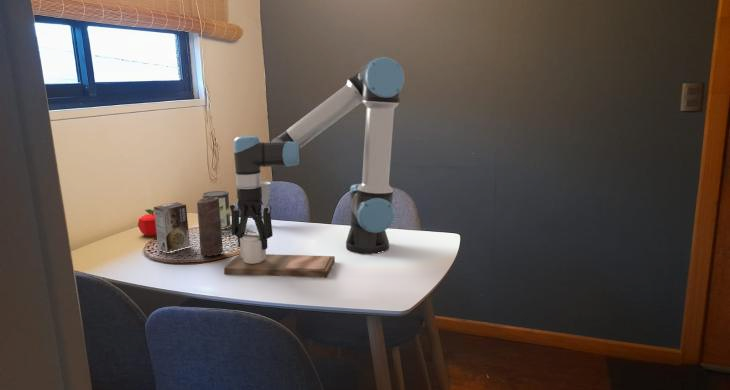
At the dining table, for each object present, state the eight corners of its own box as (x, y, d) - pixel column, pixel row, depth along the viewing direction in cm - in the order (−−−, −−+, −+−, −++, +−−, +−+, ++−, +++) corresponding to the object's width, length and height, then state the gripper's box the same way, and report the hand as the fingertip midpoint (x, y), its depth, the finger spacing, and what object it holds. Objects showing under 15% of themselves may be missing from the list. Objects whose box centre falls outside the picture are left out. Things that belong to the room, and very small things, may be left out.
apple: (174, 231, 210) (172, 206, 208) (157, 238, 200) (155, 213, 198) (151, 229, 212) (148, 205, 210) (133, 237, 202) (131, 211, 200)
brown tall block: (216, 259, 176) (212, 201, 171) (196, 258, 177) (191, 200, 173) (227, 252, 183) (223, 196, 179) (207, 251, 184) (203, 195, 180)
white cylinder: (266, 258, 169) (265, 233, 168) (256, 264, 164) (255, 238, 162) (250, 256, 171) (249, 231, 170) (240, 262, 166) (238, 237, 164)
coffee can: (218, 222, 222) (216, 189, 219) (236, 225, 217) (234, 192, 214) (199, 228, 214) (196, 194, 211) (217, 231, 208) (214, 197, 205)
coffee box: (180, 244, 192) (176, 201, 189) (190, 248, 188) (187, 204, 185) (157, 251, 185) (153, 206, 182) (167, 254, 181) (163, 209, 178)
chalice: (255, 225, 217) (252, 182, 214) (271, 223, 219) (269, 181, 216) (257, 229, 211) (254, 185, 207) (274, 228, 213) (271, 184, 209)
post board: (334, 262, 172) (334, 237, 170) (326, 277, 159) (326, 250, 157) (240, 259, 176) (238, 235, 174) (224, 274, 162) (222, 248, 160)
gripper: (282, 185, 163) (285, 257, 168) (229, 182, 169) (234, 251, 174) (269, 190, 156) (273, 264, 161) (215, 187, 162) (221, 258, 167)
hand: (253, 257), depth 168 cm, fingers closed on white cylinder, 6 cm apart
